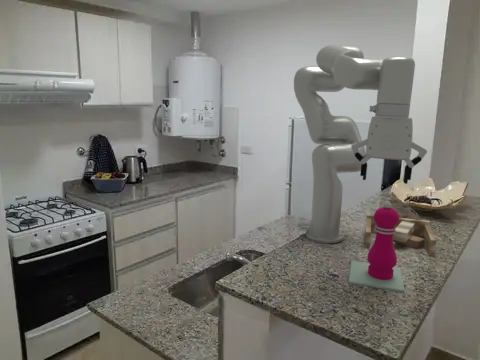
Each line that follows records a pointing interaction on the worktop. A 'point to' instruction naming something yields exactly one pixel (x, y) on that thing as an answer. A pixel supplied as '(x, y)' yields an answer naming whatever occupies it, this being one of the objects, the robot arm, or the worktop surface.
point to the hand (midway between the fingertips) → (384, 180)
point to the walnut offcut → (413, 242)
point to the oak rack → (420, 231)
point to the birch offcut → (403, 231)
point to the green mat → (363, 278)
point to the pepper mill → (383, 244)
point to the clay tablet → (405, 211)
